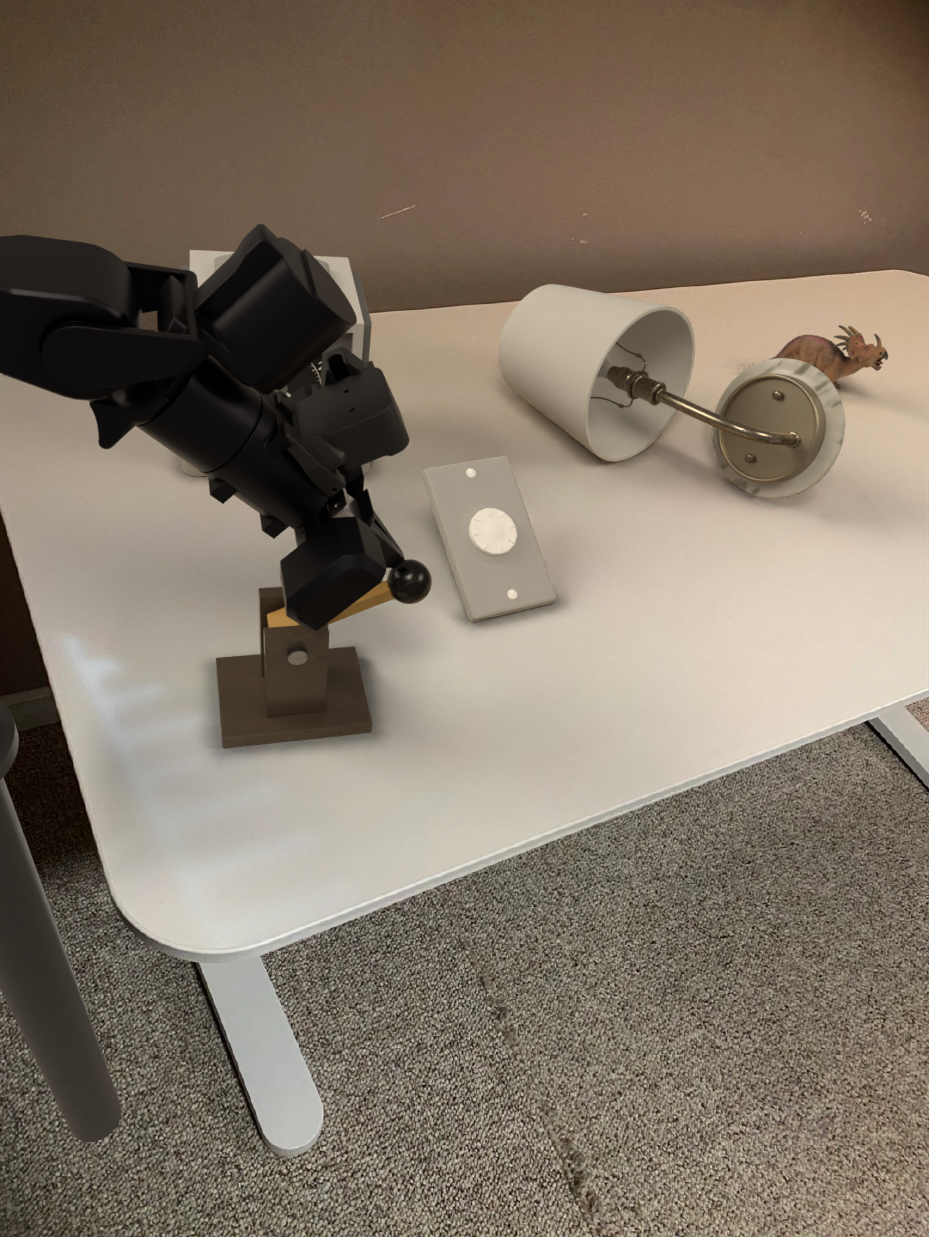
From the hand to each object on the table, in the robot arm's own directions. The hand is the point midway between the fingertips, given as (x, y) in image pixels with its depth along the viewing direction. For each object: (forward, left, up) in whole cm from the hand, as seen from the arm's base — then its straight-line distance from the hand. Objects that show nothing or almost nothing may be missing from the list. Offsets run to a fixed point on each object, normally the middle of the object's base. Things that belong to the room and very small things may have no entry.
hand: (399, 561), depth 64 cm
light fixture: (+37, +28, -14) cm, 48 cm away
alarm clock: (-2, +36, -14) cm, 38 cm away
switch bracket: (-7, +1, -14) cm, 16 cm away
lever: (-2, 0, -5) cm, 6 cm away
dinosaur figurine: (+67, +39, -14) cm, 78 cm away
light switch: (+13, +13, -14) cm, 23 cm away
